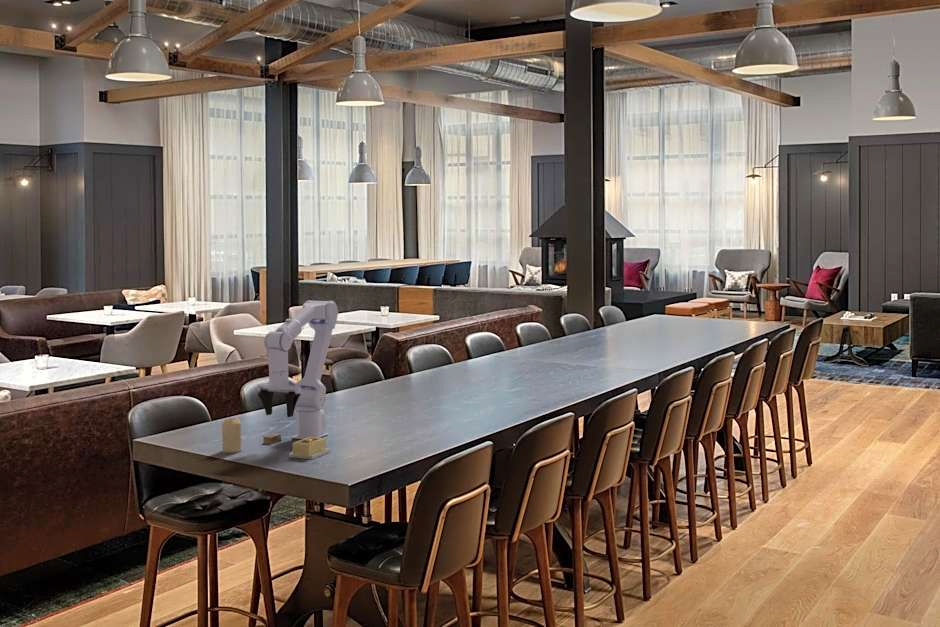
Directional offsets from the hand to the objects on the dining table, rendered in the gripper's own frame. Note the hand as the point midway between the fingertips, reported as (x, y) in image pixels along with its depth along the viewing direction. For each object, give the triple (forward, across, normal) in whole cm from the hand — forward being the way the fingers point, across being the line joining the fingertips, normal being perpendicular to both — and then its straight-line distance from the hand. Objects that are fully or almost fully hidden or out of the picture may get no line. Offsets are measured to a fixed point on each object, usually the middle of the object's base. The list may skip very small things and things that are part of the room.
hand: (279, 415), depth 306 cm
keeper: (+10, +13, -4) cm, 17 cm away
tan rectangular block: (+10, -7, +6) cm, 14 cm away
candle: (+10, -11, -9) cm, 17 cm away
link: (+9, +13, -4) cm, 16 cm away
